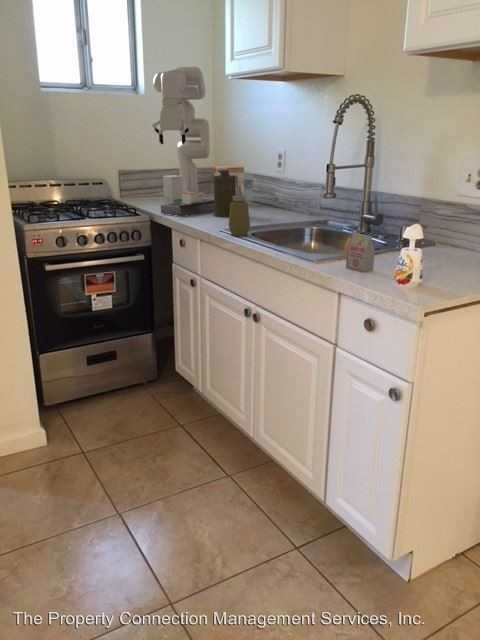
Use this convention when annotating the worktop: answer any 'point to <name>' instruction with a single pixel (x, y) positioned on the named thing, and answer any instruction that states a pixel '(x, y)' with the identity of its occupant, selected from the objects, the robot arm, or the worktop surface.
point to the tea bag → (360, 253)
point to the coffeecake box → (233, 171)
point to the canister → (224, 193)
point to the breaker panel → (188, 208)
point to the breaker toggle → (189, 197)
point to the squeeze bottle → (239, 215)
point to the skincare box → (172, 189)
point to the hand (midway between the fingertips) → (172, 143)
